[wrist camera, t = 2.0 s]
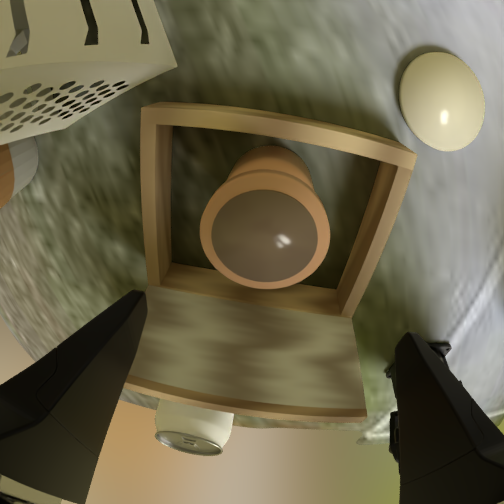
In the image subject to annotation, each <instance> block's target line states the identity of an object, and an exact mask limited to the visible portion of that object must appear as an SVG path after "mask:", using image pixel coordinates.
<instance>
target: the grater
mask: <svg viewBox="0 0 504 504" xmlns="http://www.w3.org/2000/svg"><path fill="white" fill-rule="evenodd" d="M89 1H90V4H91V7H92V11H93V14H94V17H95V20H96V23H97V26H98V45H86V46H84V44H85V40H86V36H87V32H88V29H89V28H88V25H87V22H86V19H85V15H84V12H83V9H82V5H81V2H80V0H0V145H3V144H6V143H9V142H13V141H16V140H20V139H24V138H27V137H31V136H35V135H39V134H43V133H47V132H52V131H56V130H61V129H65V128H67V127H68V126H70V125H71V124H73V123H74V122H76V121H77V120H79V119H80V118H82V117H83V116H85V115H86V114H88V113H90V112H91V111H93V110H94V109H96V108H98V107H99V106H101V105H103V104H104V103H106V102H108V101H110V100H111V99H113V98H115V97H117V96H118V95H120V94H122V93H124V92H126V91H128V90H130V89H132V88H133V87H135V86H137V85H139V84H141V83H143V82H145V81H147V80H149V79H151V78H154V77H156V76H158V75H160V74H162V73H164V72H167V71H169V70H171V69H173V68H176V67H178V65H177V63H176V60H175V57H174V55H173V52H172V49H171V47H170V44H169V41H168V38H167V36H166V33H165V30H164V28H163V25H162V22H161V19H160V17H159V14H158V11H157V9H156V6H155V3H154V0H137V2H138V5H139V8H140V11H141V13H142V16H143V19H144V22H145V25H146V27H147V30H148V37H149V44H141V34H142V30H141V27H140V24H139V22H138V19H137V16H136V13H135V10H134V7H133V5H132V2H131V0H89ZM19 51H21V53H22V54H21V55H16V54H17V53H18V52H19ZM102 80H103V81H104V83H102V84H101V85H99V86H97V87H94V88H89V87H90V86H91V85H92V84H94V83H95V82H98V81H102ZM70 81H76V83H75V84H74V85H73V86H71V87H69V88H67V89H64V90H59V88H60V87H61V86H62V85H64V84H65V83H68V82H70ZM121 81H126V82H125V83H123V84H122V85H120V86H117V87H112V86H113V85H114V84H116V83H118V82H121ZM107 84H109V86H108V87H107V88H105V89H103V90H100V91H96V89H98V88H99V87H101V86H103V85H107ZM79 85H84V87H83V88H82V89H80V90H78V91H76V92H73V93H68V92H69V91H70V90H71V89H72V88H74V87H76V86H79ZM123 85H129V86H127V87H126V88H124V89H121V90H116V89H117V88H119V87H121V86H123ZM30 86H31V87H32V90H33V92H32V93H29V94H28V93H27V90H26V89H27V88H28V87H30ZM50 87H53V90H52V91H51V89H50ZM108 89H111V91H109V92H108V93H106V94H103V95H98V94H99V93H101V92H102V91H105V90H108ZM86 90H89V92H88V93H87V94H85V95H83V96H81V97H77V98H76V97H75V96H76V95H77V94H79V93H80V92H83V91H86ZM112 92H115V94H113V95H111V96H109V97H106V98H103V97H104V96H105V95H107V94H109V93H112ZM55 93H60V95H59V96H58V97H57V98H55V99H54V98H53V95H52V94H55ZM92 93H95V95H94V96H92V97H91V98H88V99H86V100H82V98H84V97H85V96H87V95H89V94H92ZM64 96H69V98H67V99H66V100H64V101H62V102H60V103H57V104H56V103H55V101H56V100H58V99H59V98H61V97H64ZM96 97H97V99H96V100H94V101H93V102H90V103H87V104H85V102H86V101H88V100H90V99H92V98H96ZM33 100H36V102H37V104H35V105H34V106H32V105H31V101H33ZM71 100H75V102H74V103H72V104H70V105H68V106H65V107H62V105H63V104H65V103H66V102H68V101H71ZM98 100H102V101H101V102H100V103H98V104H95V105H92V106H90V105H91V104H92V103H94V102H96V101H98ZM79 102H82V103H81V104H80V105H79V106H77V107H75V108H72V109H69V107H70V106H72V105H74V104H76V103H79ZM37 106H38V111H37V112H32V110H33V109H34V108H36V107H37ZM80 106H84V107H83V108H82V109H80V110H78V111H75V112H73V110H74V109H76V108H78V107H80ZM88 107H90V109H88V110H87V111H85V112H82V113H79V112H80V111H81V110H83V109H85V108H88ZM60 109H62V111H61V112H60V113H59V111H58V110H60ZM65 111H70V112H68V113H67V114H65V115H63V116H61V117H60V114H61V113H63V112H65ZM68 114H73V115H72V116H70V117H68V118H66V119H62V118H63V117H65V116H66V115H68ZM31 115H34V116H33V118H31Z"/></svg>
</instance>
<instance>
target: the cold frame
mask: <svg viewBox="0 0 504 504" xmlns="http://www.w3.org/2000/svg"><path fill="white" fill-rule="evenodd" d="M173 125H175V126H189V127H200V128H211V129H220V130H228V131H236V132H244V133H251V134H258V135H264V136H271V137H277V138H282V139H288V140H294V141H299V142H304V143H309V144H314V145H319V146H323V147H328V148H332V149H337V150H341V151H345V152H349V153H353V154H357V155H361V156H365V157H369V158H372V159H376V160H380V161H381V162H380V165H379V169H378V172H377V176H376V179H375V182H374V186H373V189H372V192H371V195H370V198H369V201H368V204H367V207H366V210H365V213H364V216H363V219H362V222H361V225H360V228H359V231H358V234H357V237H356V239H355V242H354V245H353V248H352V250H351V253H350V256H349V258H348V261H347V264H346V266H345V269H344V271H343V274H342V277H341V279H340V282H339V284H338V287H337V289H330V288H323V287H316V286H310V285H303V284H297V283H295V284H293V285H290V286H287V287H283V288H277V289H258V288H252V287H248V286H244V285H241V284H239V283H237V282H234V281H232V280H231V279H229V278H227V277H226V276H224V275H223V274H222V273H220V272H219V271H218V270H212V269H206V268H200V267H195V266H189V265H184V264H178V263H173V262H172V252H171V163H172V138H173ZM416 158H417V154H416V153H414V152H413V151H411V150H410V149H408V148H407V147H406V146H404V145H403V144H401V143H400V142H396V141H393V140H390V139H387V138H384V137H380V136H377V135H373V134H370V133H366V132H363V131H359V130H355V129H351V128H348V127H344V126H340V125H335V124H331V123H327V122H322V121H318V120H313V119H308V118H303V117H298V116H293V115H287V114H281V113H275V112H269V111H263V110H256V109H248V108H240V107H232V106H223V105H212V104H200V103H184V102H157V103H154V104H151V105H147V106H144V107H141V129H140V173H141V202H142V220H143V235H144V247H145V258H146V267H147V277H148V287H147V289H146V290H145V294H146V299H147V307H148V314H147V318H146V321H145V325H144V328H143V332H142V335H141V339H140V342H139V346H138V349H137V353H136V356H135V359H134V361H133V364H132V366H131V369H130V371H129V374H128V376H127V379H126V382H125V384H124V387H123V388H126V389H129V390H132V391H136V392H139V393H143V394H146V395H150V396H153V397H157V398H161V399H165V400H169V401H173V402H177V403H181V404H186V405H190V406H195V407H200V408H205V409H210V410H215V411H221V412H227V413H233V414H240V415H246V416H254V417H262V418H271V419H281V420H292V421H307V422H331V423H361V422H362V421H364V420H365V419H366V418H367V410H366V405H365V397H364V389H363V382H362V375H361V369H360V363H359V356H358V350H357V345H356V339H355V333H354V328H353V323H352V316H353V314H354V312H355V310H356V308H357V306H358V304H359V302H360V300H361V298H362V296H363V294H364V292H365V290H366V288H367V286H368V283H369V281H370V279H371V277H372V275H373V273H374V270H375V268H376V266H377V264H378V261H379V259H380V257H381V254H382V252H383V250H384V247H385V245H386V242H387V240H388V237H389V235H390V232H391V230H392V227H393V225H394V222H395V220H396V217H397V214H398V212H399V209H400V206H401V203H402V201H403V198H404V195H405V192H406V189H407V186H408V183H409V180H410V177H411V174H412V171H413V168H414V165H415V162H416Z"/></svg>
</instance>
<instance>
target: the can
mask: <svg viewBox="0 0 504 504" xmlns="http://www.w3.org/2000/svg"><path fill="white" fill-rule="evenodd" d="M233 416H234V414H233V413H227V412H221V411H215V410H210V409H205V408H200V407H195V406H190V405H186V404H181V403H177V402H173V401H169V400H165V399H161V398H160V401H159V405H158V408H157V412H156V415H155V424H156V428H157V433H156V434H155V437H156V439H157V440H158V441H159V442H161V443H162V444H164V445H166V446H168V447H170V448H173V449H176V450H178V451H182V452H185V453H189V454H194V455H203V456H215V455H219V454H221V453H222V452H223V450H222V447H223V446H224V444H225V443H226V442H227V441H228V439H229V437H230V434H231V429H232V423H233Z"/></svg>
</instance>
